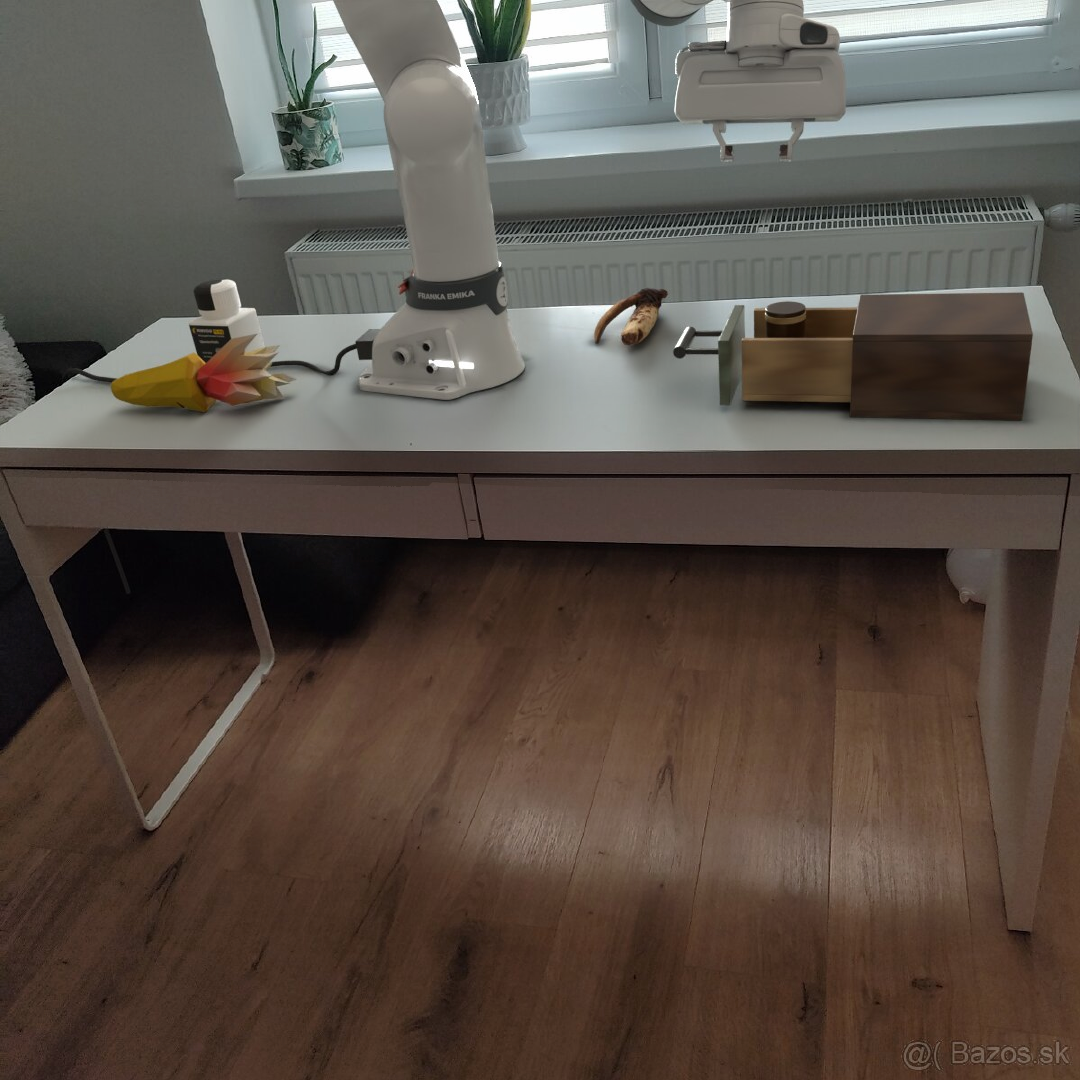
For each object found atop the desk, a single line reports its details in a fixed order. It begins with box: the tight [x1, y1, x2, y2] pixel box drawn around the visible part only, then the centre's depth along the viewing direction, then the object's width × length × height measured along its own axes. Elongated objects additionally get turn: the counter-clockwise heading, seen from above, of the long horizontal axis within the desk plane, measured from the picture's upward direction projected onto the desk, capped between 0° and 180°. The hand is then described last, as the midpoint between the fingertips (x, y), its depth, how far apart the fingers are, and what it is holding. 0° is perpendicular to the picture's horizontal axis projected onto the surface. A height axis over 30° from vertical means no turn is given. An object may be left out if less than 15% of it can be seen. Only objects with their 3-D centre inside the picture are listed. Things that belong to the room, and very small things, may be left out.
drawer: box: [672, 304, 858, 406], centre depth 124 cm, size 22×12×8 cm, turn 73°
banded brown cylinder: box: [765, 300, 807, 338], centre depth 125 cm, size 5×5×8 cm
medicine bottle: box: [188, 278, 266, 363], centre depth 156 cm, size 7×7×12 cm
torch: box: [110, 334, 298, 413], centre depth 142 cm, size 8×8×25 cm
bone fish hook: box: [593, 287, 669, 346], centre depth 150 cm, size 9×5×18 cm
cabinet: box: [849, 291, 1034, 421], centre depth 119 cm, size 18×14×10 cm
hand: (755, 161), depth 129 cm, fingers open, 6 cm apart
